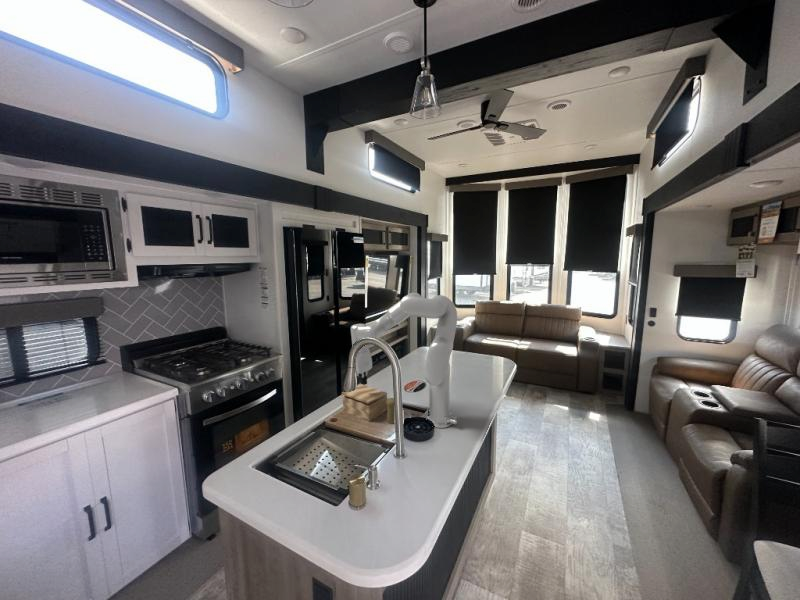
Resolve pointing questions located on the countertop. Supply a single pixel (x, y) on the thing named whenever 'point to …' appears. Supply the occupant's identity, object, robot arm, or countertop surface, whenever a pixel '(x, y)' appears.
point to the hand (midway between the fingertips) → (363, 383)
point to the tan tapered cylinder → (390, 411)
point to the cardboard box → (365, 407)
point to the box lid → (365, 394)
